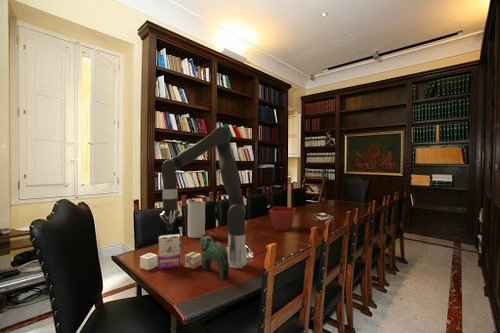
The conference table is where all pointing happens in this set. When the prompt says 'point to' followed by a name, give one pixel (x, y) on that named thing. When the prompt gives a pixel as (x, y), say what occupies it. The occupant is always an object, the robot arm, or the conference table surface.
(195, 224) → the cylinder vase
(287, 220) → the plant pot
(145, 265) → the white block two
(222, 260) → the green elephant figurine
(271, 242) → the conference table surface
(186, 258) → the maple block one
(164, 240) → the candy bar box
